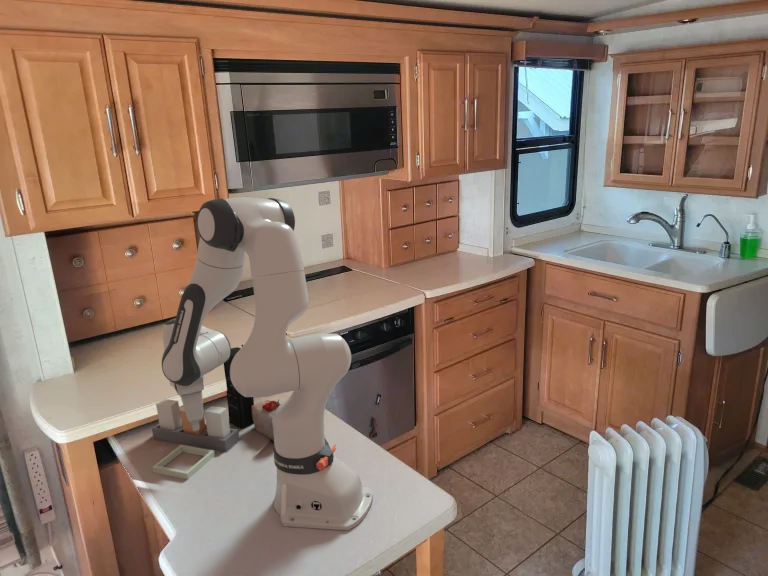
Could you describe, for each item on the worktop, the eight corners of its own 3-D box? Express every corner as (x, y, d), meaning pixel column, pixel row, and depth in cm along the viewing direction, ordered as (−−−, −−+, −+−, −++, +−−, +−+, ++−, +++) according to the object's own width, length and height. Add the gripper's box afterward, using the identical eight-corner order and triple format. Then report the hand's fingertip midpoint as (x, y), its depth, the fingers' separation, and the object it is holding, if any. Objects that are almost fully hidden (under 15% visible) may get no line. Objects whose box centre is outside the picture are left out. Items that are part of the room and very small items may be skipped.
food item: (249, 431, 160) (245, 400, 158) (273, 420, 166) (269, 390, 163) (277, 448, 151) (274, 415, 148) (301, 436, 156) (298, 404, 154)
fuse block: (242, 441, 155) (237, 405, 152) (227, 455, 149) (222, 418, 146) (168, 429, 163) (162, 394, 160) (151, 442, 157) (144, 406, 154)
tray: (215, 459, 147) (214, 450, 147) (188, 482, 138) (187, 473, 137) (182, 452, 151) (180, 444, 150) (154, 475, 141) (152, 466, 141)
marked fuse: (207, 437, 156) (202, 404, 154) (200, 442, 154) (195, 409, 151) (192, 434, 158) (187, 402, 155) (185, 440, 155) (179, 407, 153)
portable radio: (226, 424, 165) (215, 344, 158) (243, 416, 169) (233, 337, 162) (242, 432, 160) (231, 350, 153) (259, 423, 164) (250, 343, 157)
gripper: (170, 363, 158) (177, 408, 162) (178, 392, 141) (186, 441, 144) (193, 359, 161) (200, 403, 165) (204, 386, 143) (211, 435, 147)
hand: (193, 421), depth 154 cm, fingers open, 8 cm apart
